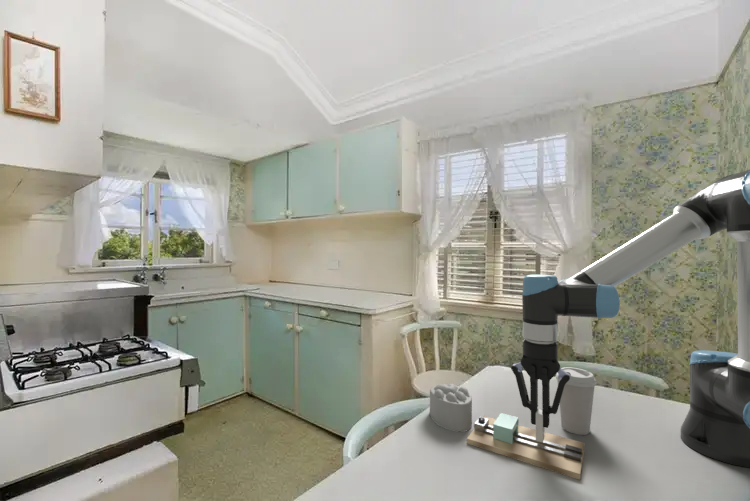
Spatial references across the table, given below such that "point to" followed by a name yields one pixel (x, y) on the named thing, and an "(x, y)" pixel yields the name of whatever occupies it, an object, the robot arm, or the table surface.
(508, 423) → the mint sliding carriage
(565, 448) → the slide rail
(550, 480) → the table surface
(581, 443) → the board
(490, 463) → the table surface
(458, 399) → the lumpy-topped squat cylinder
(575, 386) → the coffee cup
